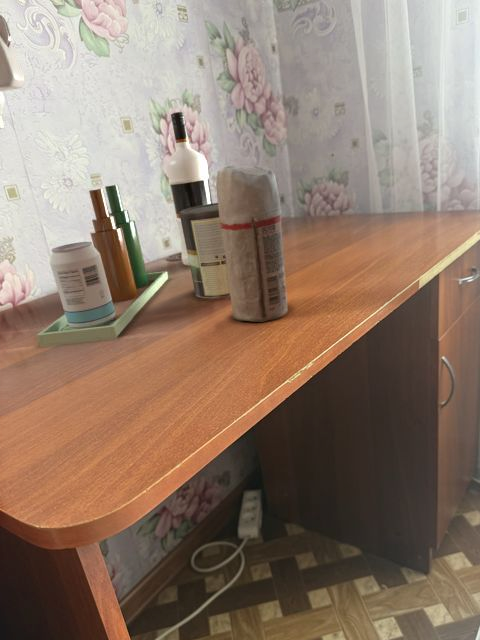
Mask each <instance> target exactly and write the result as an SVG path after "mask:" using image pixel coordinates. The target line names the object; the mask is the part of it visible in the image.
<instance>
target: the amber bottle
mask: <svg viewBox="0 0 480 640" xmlns="http://www.w3.org/2000/svg"><path fill="white" fill-rule="evenodd" d="M88 193H89V196H90V200H91V204H92V208H93V212H94V216H95V218H92V219H91V222H92V226H93V230H92V231H90V232H89V234H90V237H91V242H92V245H93V246H94V247H95V248H96V250H97V251H98V252H99V253H100V256H101V260H102V263H103V267H104V271H105V275H106V279H107V283H108V286H109V290H110V294H111V298H112V302H113V303H122V302H126V301H127V302H128V301H130V300H134V299H135V298H138V297H139V293H138V289H136V285H135V281H134V276H133V272H132V268H131V264H130V260H129V256H128V251H127V247H126V243H125V239H124V235H123V231H122V227H117V226H116V222H115V218H114V216H109V213H110V212H109V208H108V205H107V200H106V196H105V192H104V189H103V187H102V188H101V187H100V188H94V189H89V190H88Z"/></svg>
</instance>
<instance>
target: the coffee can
mask: <svg viewBox="0 0 480 640" xmlns="http://www.w3.org/2000/svg"><path fill="white" fill-rule="evenodd" d="M212 203H213V202H212ZM179 217H180V219H181V223H182V228H183V233H184V238H185V244H186V249H187V254H188V259H189V264H190V265H189V268H190V273H191V274H190V275H191V278H192V284H193V289H194V295H195V296H196V297H198V298H204V299H216V298H225V297H230V293H229V286H228V278H227V267H226V260H225V251H224V250H223V249H224V246H223V239H222V232H221V227H220V217H219V208H218V202H214V203H213V204H207V205H201V206H196V207H192V208H188V209H184V210H182V211H180V212H179Z"/></svg>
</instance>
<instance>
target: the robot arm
mask: <svg viewBox="0 0 480 640" xmlns="http://www.w3.org/2000/svg"><path fill="white" fill-rule="evenodd" d="M25 78H26V77H25V74H24V70H23V67H22V66H21V63H20V59H19V57H18V55H17V52H16V50H15V48H14V46H13V43H12V34H11V32H10V28H9V24H8V22H7V20H6V18H5V17H3V15H1V14H0V129H5V122H4V119H3V112H4V107H5V102H6V99H5V95H4V92H7V91H13V90H17V89H18V90H19V89H22V88H23V86H24V84H25V80H26V79H25Z"/></svg>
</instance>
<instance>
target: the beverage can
mask: <svg viewBox="0 0 480 640" xmlns="http://www.w3.org/2000/svg"><path fill="white" fill-rule="evenodd" d="M50 256H51V257H50V261H49V265H50V268H51V272H52V275H53V278H54V279H53V280H54V282H55V285H56V288H57V291H58V295H59V298H60V302H61V306H62V308H63V312H64V314H65V315H66V318H67V322H68V324H67V325H69V326H70V327H73V328H76V329H84V328H93V327H102V326H107V325H108V324H109V323H110V322H111V320H114V318H115V317H116V315H117V314H116V309H115V306H114V302H112V298H111V294H110V290H109V286H108V283H107V279H106V275H105V271H104V267H103V263H102V260H101V256H100V253H99V252H98V251H97V250H96V248H95V247H94V246H93V242H92V241H79V242H72V243H68V244H63V245H59V246H57V247H53V248H52V249H51V255H50Z"/></svg>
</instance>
